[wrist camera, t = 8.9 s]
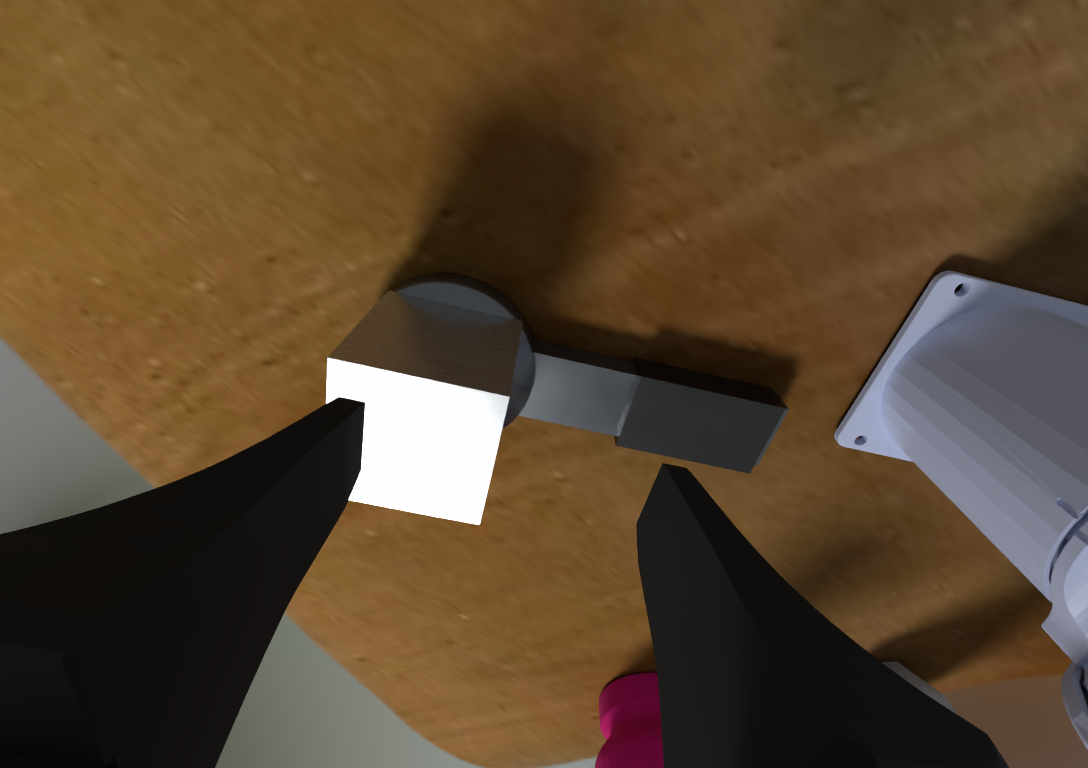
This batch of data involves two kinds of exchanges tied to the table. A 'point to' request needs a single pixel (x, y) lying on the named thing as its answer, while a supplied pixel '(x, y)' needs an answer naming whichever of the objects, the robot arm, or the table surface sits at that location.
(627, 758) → the pepper mill
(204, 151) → the table surface
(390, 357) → the metal cube
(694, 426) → the ratchet
